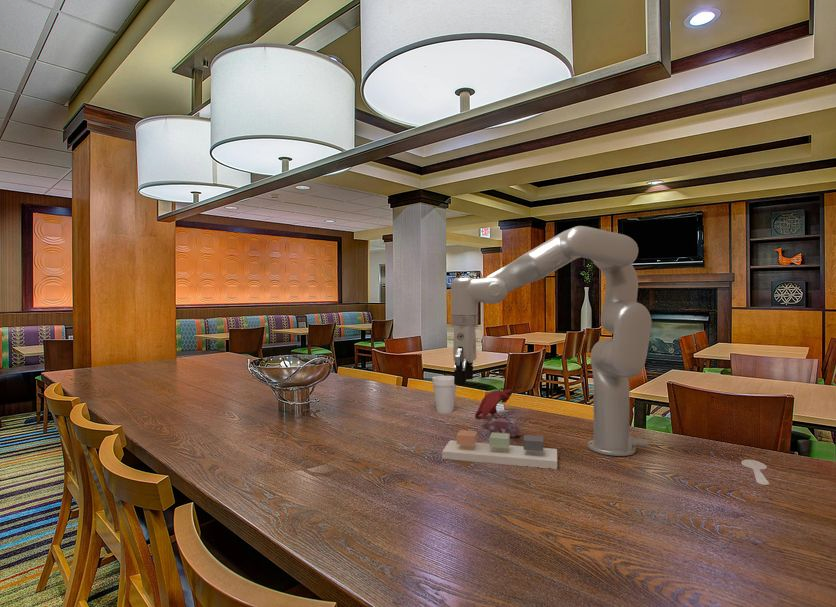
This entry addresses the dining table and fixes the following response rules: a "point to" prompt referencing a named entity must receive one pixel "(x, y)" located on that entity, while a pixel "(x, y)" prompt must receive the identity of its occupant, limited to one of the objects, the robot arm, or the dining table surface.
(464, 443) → the terracotta key
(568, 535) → the dining table surface
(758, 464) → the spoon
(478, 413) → the decorative bird sculpture
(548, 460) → the keypad base
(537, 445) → the charcoal key
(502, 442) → the sage key
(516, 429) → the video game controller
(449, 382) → the foam cup
